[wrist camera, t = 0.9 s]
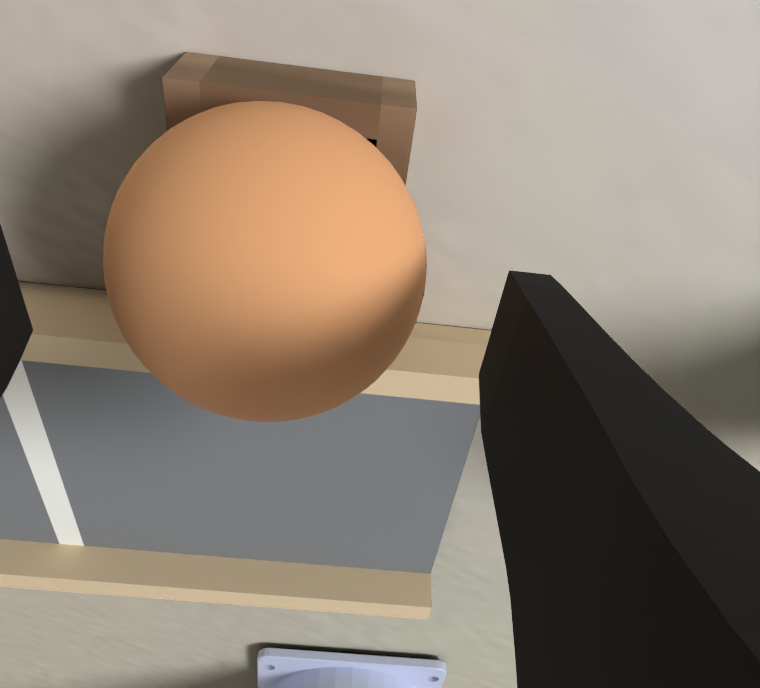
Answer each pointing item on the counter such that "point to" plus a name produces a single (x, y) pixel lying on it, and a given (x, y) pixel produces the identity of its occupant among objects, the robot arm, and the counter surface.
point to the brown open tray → (298, 96)
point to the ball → (264, 261)
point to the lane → (226, 475)
